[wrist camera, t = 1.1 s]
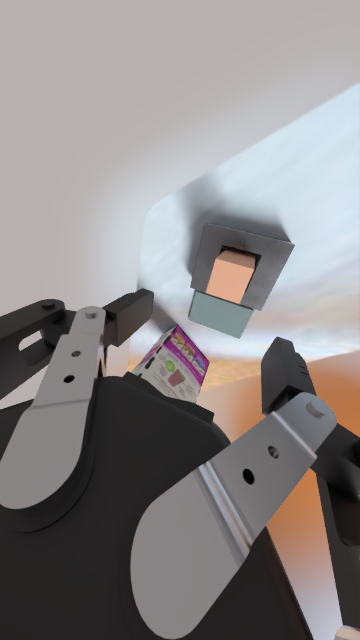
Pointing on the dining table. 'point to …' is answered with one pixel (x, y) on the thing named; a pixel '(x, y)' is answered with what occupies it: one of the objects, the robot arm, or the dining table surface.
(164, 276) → the dining table surface
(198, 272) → the grey socket frame
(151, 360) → the candy bar box
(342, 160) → the dining table surface
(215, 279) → the plug
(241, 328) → the mat
